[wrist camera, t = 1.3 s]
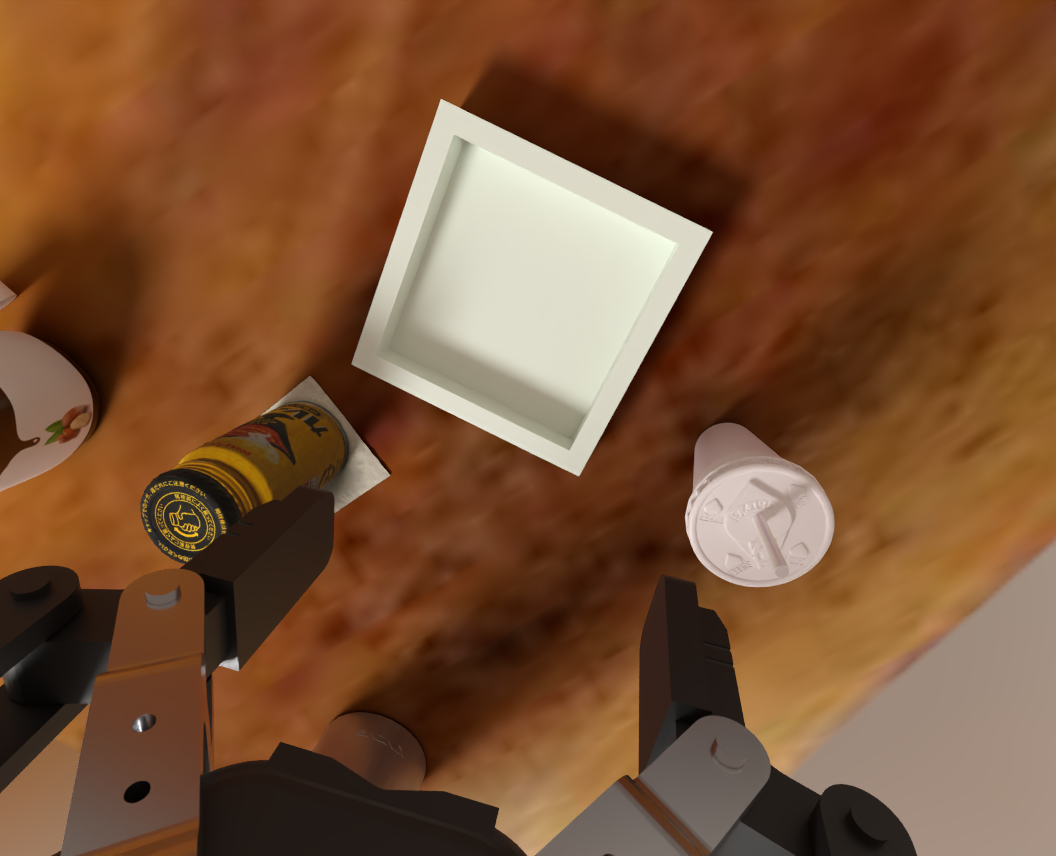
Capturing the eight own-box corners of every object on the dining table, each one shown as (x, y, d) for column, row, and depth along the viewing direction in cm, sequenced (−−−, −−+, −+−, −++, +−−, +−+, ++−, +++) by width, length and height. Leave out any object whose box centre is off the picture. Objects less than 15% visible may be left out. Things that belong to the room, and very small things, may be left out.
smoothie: (772, 389, 33) (865, 493, 20) (789, 487, 35) (886, 642, 22) (661, 414, 35) (681, 526, 22) (683, 507, 36) (714, 662, 23)
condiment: (311, 374, 38) (178, 435, 27) (391, 474, 39) (296, 572, 28) (241, 430, 40) (92, 508, 29) (319, 523, 42) (205, 631, 30)
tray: (582, 457, 36) (578, 476, 34) (372, 354, 36) (351, 364, 34) (705, 231, 31) (713, 232, 28) (457, 110, 31) (441, 98, 28)
